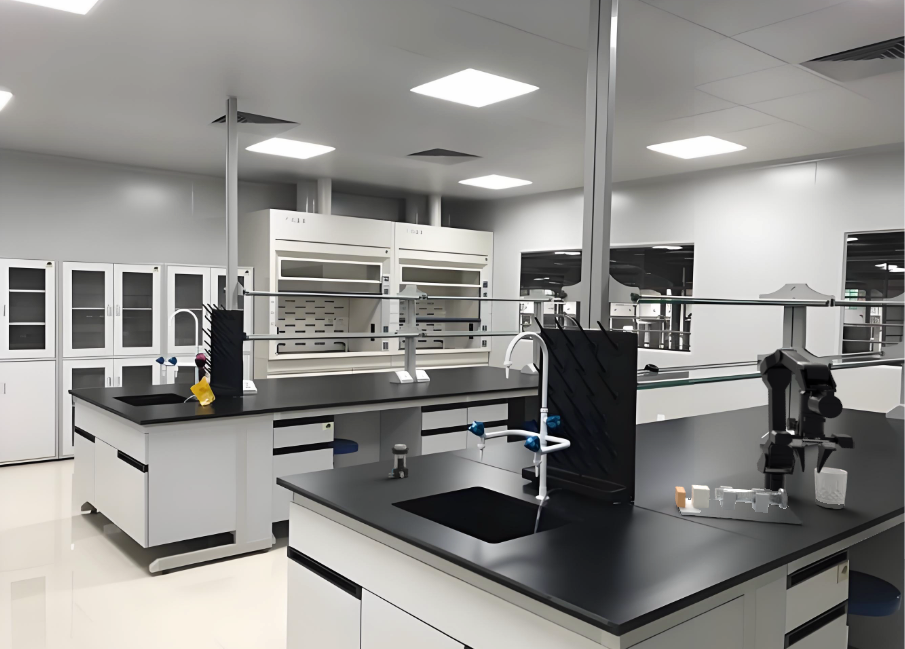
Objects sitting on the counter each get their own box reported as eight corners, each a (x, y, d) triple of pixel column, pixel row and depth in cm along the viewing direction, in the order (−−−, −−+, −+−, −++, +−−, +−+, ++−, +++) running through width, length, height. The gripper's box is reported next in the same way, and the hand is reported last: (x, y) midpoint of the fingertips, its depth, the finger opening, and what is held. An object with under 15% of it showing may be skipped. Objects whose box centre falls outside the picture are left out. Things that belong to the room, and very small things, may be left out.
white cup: (846, 505, 187) (847, 469, 187) (846, 512, 180) (847, 475, 180) (814, 500, 191) (815, 465, 191) (813, 507, 184) (814, 471, 184)
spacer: (691, 503, 182) (691, 484, 182) (706, 504, 181) (707, 485, 181) (693, 507, 178) (693, 488, 178) (709, 508, 177) (709, 489, 177)
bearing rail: (673, 500, 188) (674, 479, 188) (787, 509, 181) (788, 487, 181) (678, 515, 174) (679, 492, 174) (802, 525, 168) (802, 501, 168)
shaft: (714, 500, 181) (714, 482, 181) (782, 505, 178) (782, 486, 177) (717, 505, 177) (717, 486, 176) (787, 511, 173) (787, 491, 173)
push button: (392, 480, 204) (393, 448, 204) (384, 476, 209) (384, 444, 209) (411, 477, 208) (412, 445, 208) (402, 474, 213) (403, 442, 212)
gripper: (841, 410, 179) (839, 468, 179) (766, 406, 183) (764, 463, 184) (856, 416, 168) (854, 477, 169) (776, 412, 172) (774, 472, 173)
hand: (810, 472), depth 174 cm, fingers open, 3 cm apart
